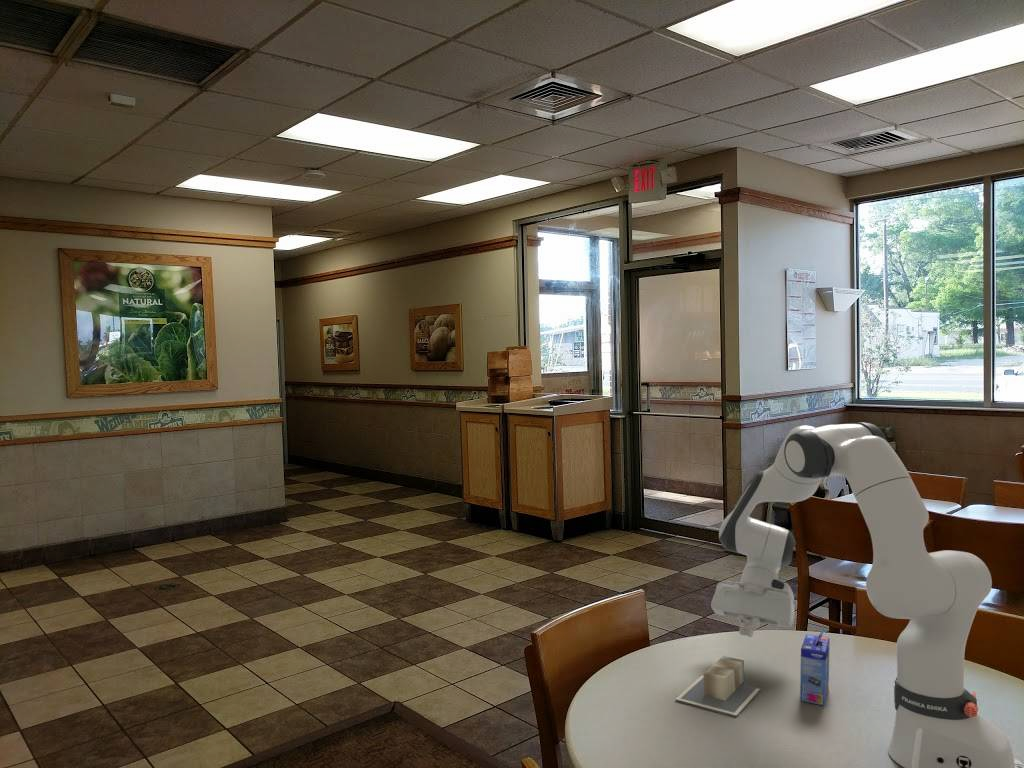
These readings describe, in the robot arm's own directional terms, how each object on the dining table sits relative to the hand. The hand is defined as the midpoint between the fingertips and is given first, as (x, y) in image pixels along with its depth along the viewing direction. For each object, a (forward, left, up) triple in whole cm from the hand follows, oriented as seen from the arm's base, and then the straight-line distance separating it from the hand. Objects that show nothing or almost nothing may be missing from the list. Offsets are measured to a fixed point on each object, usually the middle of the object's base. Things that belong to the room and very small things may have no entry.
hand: (745, 634), depth 186 cm
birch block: (-1, +10, -5) cm, 11 cm away
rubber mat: (-1, +19, -8) cm, 21 cm away
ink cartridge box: (-19, +7, -8) cm, 21 cm away
